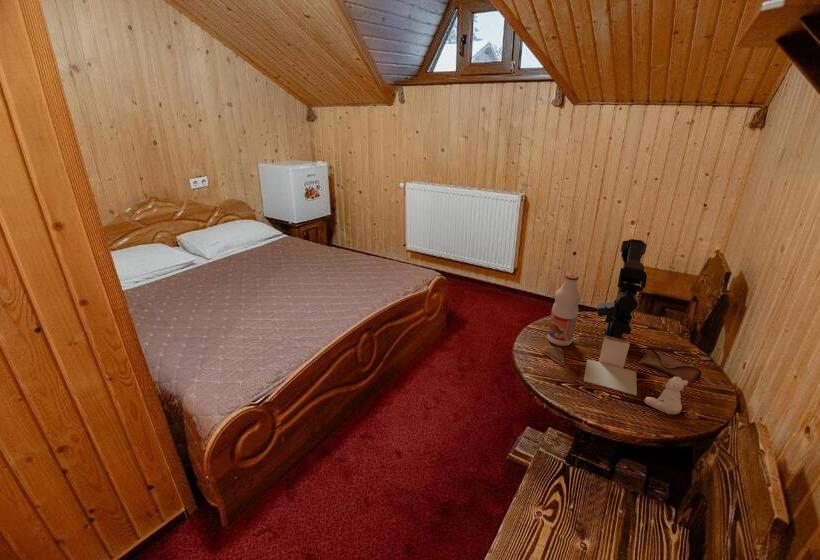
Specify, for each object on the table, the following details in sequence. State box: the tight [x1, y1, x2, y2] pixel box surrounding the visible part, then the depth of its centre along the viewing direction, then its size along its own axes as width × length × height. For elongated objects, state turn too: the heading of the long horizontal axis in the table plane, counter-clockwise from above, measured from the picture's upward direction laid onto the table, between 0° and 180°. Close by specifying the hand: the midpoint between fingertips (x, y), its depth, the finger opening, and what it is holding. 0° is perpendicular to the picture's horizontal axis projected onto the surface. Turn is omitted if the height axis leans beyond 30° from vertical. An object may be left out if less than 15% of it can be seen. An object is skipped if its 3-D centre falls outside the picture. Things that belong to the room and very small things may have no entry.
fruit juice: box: [547, 272, 582, 347], centre depth 155 cm, size 9×9×28 cm
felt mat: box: [583, 358, 638, 397], centre depth 139 cm, size 14×16×1 cm
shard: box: [541, 345, 565, 367], centre depth 149 cm, size 11×8×2 cm
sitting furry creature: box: [644, 377, 688, 415], centre depth 122 cm, size 10×9×12 cm
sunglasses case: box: [638, 348, 702, 386], centre depth 143 cm, size 18×7×7 cm, turn 40°
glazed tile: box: [598, 336, 631, 369], centre depth 144 cm, size 2×8×10 cm, turn 63°
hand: (615, 338), depth 148 cm, fingers closed
